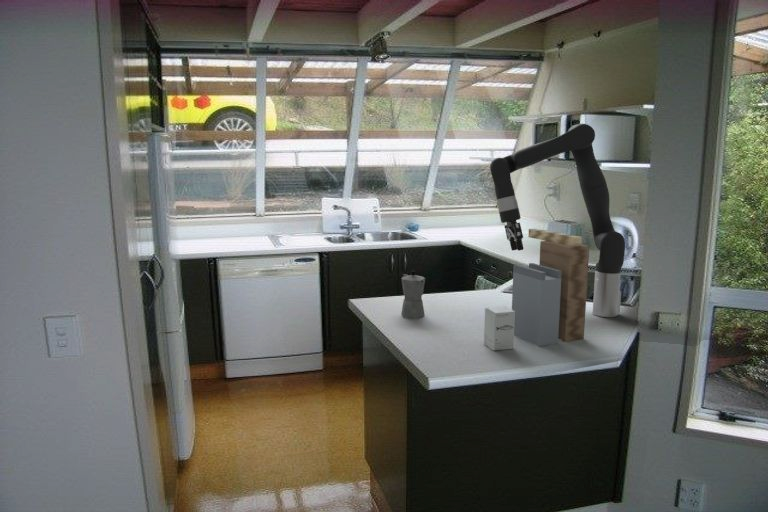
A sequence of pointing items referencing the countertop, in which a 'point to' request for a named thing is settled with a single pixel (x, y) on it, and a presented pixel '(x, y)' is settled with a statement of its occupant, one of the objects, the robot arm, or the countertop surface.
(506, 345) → the supplement box
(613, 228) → the robot arm
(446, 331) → the countertop surface
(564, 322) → the walnut pedestal
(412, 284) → the coffeepot
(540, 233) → the birch bar
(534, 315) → the slate grooved rack
